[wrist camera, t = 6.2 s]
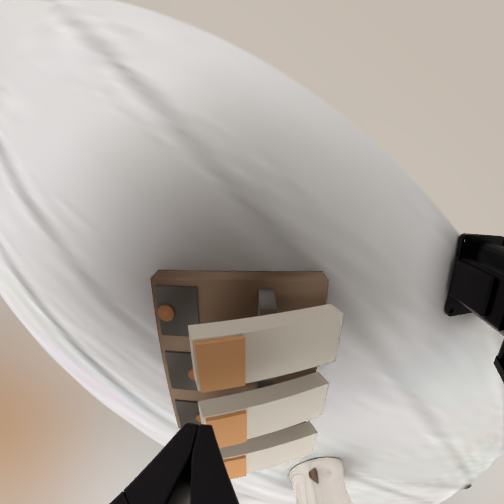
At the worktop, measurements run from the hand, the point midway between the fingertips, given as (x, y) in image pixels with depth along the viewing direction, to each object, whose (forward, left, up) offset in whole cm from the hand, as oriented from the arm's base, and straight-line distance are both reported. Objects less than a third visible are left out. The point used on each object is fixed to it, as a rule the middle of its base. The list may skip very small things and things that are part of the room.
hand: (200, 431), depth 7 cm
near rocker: (-2, 0, -5) cm, 6 cm away
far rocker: (-2, +9, -5) cm, 11 cm away
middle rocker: (-2, +4, -5) cm, 7 cm away
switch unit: (-1, +4, -10) cm, 11 cm away
